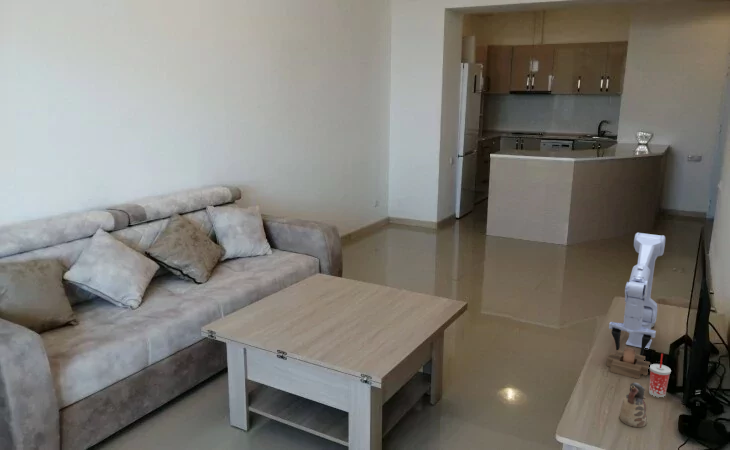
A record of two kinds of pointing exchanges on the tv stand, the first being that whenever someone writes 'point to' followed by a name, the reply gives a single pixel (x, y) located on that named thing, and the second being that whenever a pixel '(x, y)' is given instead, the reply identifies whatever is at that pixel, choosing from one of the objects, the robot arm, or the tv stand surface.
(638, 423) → the figurine
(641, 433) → the tv stand surface
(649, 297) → the robot arm
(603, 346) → the tv stand surface
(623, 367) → the socket block
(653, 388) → the beverage cup
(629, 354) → the peg
